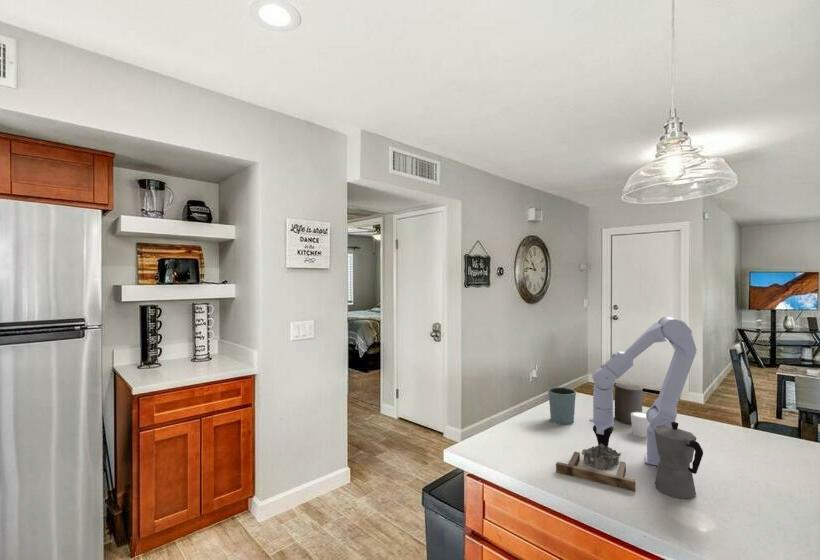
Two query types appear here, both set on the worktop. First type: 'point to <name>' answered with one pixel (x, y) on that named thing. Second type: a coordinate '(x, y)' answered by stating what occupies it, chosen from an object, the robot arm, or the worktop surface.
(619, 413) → the pillar candle
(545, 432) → the worktop surface
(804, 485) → the worktop surface
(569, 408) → the teal grey cup
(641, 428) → the shot glass
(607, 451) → the egg carton
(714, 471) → the worktop surface
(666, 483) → the coffeepot
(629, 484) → the walnut bracket
